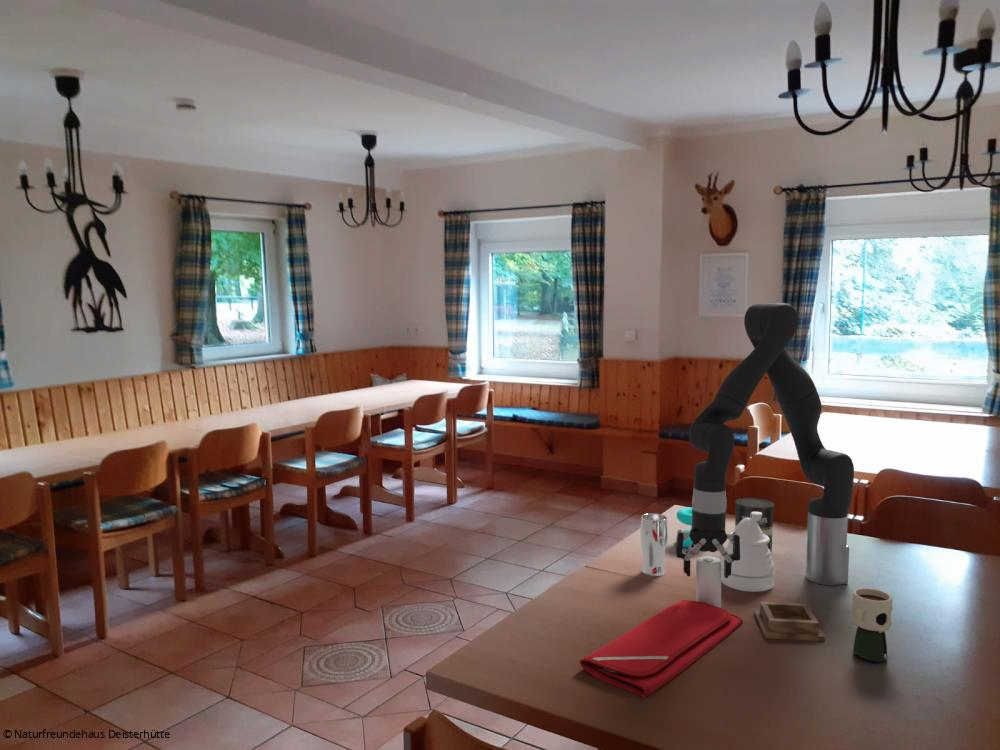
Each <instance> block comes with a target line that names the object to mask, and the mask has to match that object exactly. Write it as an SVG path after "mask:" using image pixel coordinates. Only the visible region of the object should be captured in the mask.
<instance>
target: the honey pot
mask: <svg viewBox="0 0 1000 750" xmlns="http://www.w3.org/2000/svg"><path fill="white" fill-rule="evenodd" d="M751 515H752V518H745V519H743V520H742V521H740V523H739V524H738V525H737V527H736V528H735V527H734V530H733V531H731V532H729V533H728V534H733V533H734V532H737V533H738V535H739V537H740V560H738V561H737V560H735V561H733V562H732V565H731V575H730V576H728V578H725V577H724V560H725V558H724V557H723V556H722V557H721V558H720V560H721V584H723V585H725V586H726V587H728V588H732V589H735V590H739V591H745V592H756V593H757V592H766V591H768V590H771V589H772V588H774V585H775V563H774V561H773V556H772V554H771V555H770V553H771V552H770V550H769V549H768V546H767V543H769V541H770V539H769V537H768V536H767V535H765V534H763V533H762V531H761V529H760V527H759V525H758V524H757V523H756V521H758V520H760V519H761V517H762V513H761V512H751ZM725 550H726V551H727V552H728V554H729V555H730V554H733V544H732V543H731V542H730V540H729V539H728V544H727V545H726V546H725Z"/></svg>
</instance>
